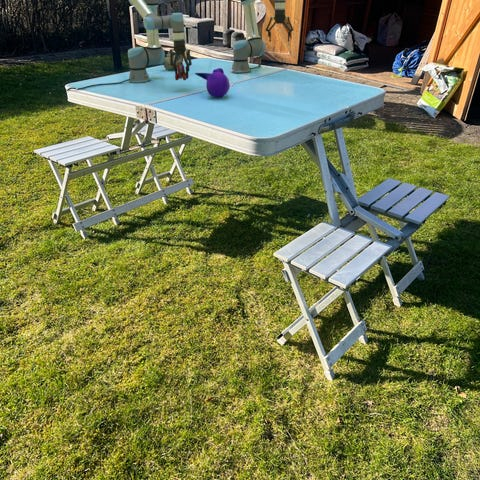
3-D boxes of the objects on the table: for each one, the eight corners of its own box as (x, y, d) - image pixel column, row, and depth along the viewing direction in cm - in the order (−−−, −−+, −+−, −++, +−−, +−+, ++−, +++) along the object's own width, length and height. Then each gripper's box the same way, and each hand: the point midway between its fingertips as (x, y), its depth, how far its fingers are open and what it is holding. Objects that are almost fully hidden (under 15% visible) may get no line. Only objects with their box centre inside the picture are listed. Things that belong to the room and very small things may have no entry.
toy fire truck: (189, 77, 309) (188, 61, 304) (184, 81, 298) (183, 64, 293) (180, 77, 310) (178, 61, 305) (174, 81, 300) (173, 64, 294)
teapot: (162, 72, 368) (160, 52, 361) (157, 70, 377) (155, 51, 369) (186, 69, 377) (184, 50, 370) (180, 67, 386) (179, 48, 378)
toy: (217, 89, 307) (229, 103, 286) (192, 85, 299) (203, 98, 279) (222, 66, 299) (235, 78, 278) (197, 61, 291) (209, 73, 271)
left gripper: (195, 38, 293) (197, 75, 305) (166, 38, 296) (169, 75, 308) (192, 40, 287) (194, 77, 298) (162, 40, 290) (166, 77, 302)
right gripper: (297, 8, 321) (296, 40, 332) (263, 9, 325) (263, 40, 336) (297, 9, 315) (295, 42, 325) (262, 9, 318) (261, 42, 329)
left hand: (181, 76), depth 303 cm, fingers closed on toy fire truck, 7 cm apart
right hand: (279, 41), depth 330 cm, fingers open, 13 cm apart
